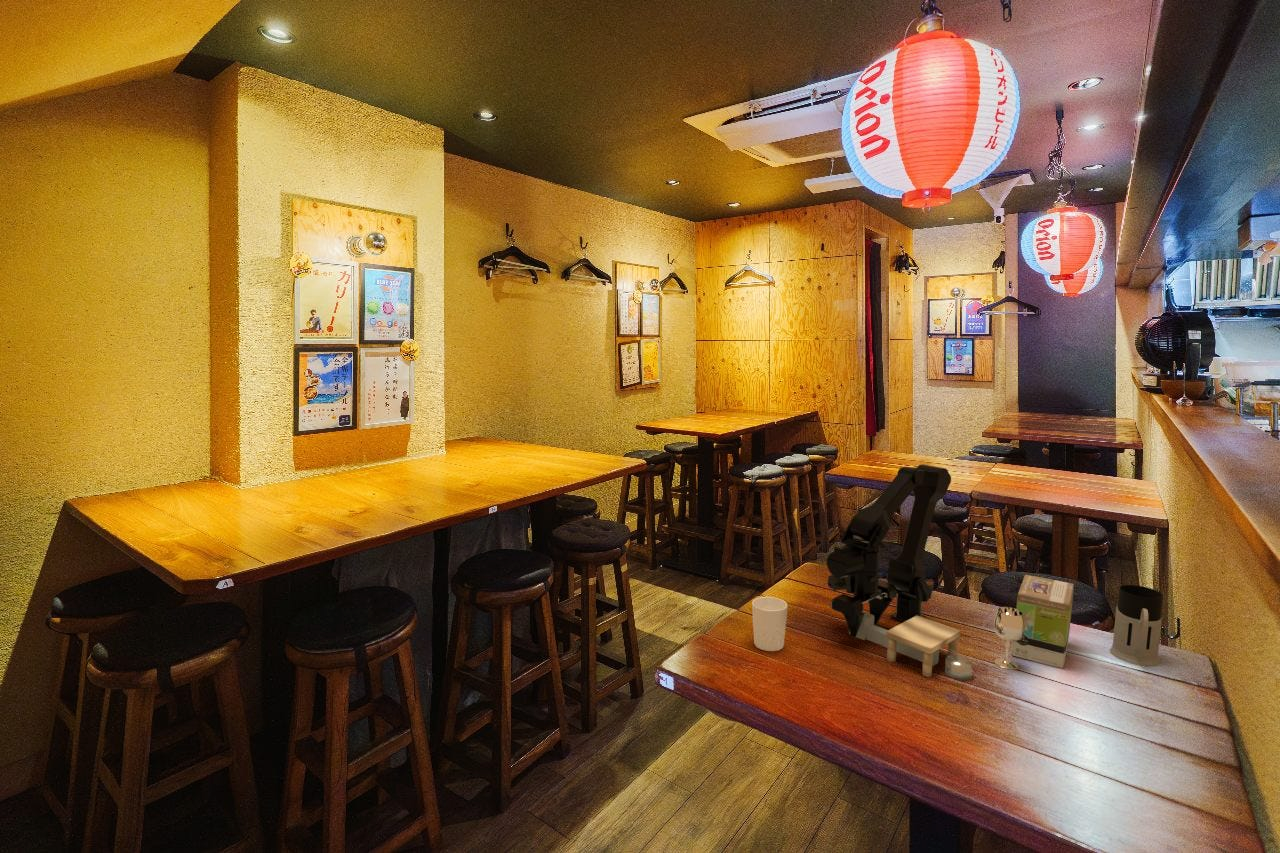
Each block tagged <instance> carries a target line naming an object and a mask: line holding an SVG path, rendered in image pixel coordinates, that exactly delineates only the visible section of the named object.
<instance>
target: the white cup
mask: <svg viewBox="0 0 1280 853" xmlns="http://www.w3.org/2000/svg"><path fill="white" fill-rule="evenodd" d="M751 605H752V606H751V607H752V608H751V609H752V625H753V626H752V628H753V629H752V630H753V644H754V645H755V647H756V648H757V649H759V650H762V651H766V652H777V651H781V650H782V649H783V648H784V645H785V635H786V629H787V628H786V627H787V617H788V603H787V602H786V601H785V600H783V599H781V598H777V597H773V596H762V597H760V596H759V597H757V598H755V599H753V600H752V603H751Z"/></svg>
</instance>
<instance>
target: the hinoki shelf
mask: <svg viewBox="0 0 1280 853" xmlns="http://www.w3.org/2000/svg"><path fill="white" fill-rule="evenodd" d="M887 630H888V629H887ZM961 631H962V630H960V629H957V628H954V627H952V626H948V625H945V624H943V623H940V622H937V621H935V620H931V619H930V618H929V619H928V618H927V619H926V618H923V617H920V616H915V617H913V618H911V619H909V620H907V621H905V622H902V623H900V624H897V625H895V626H893V627H892V628H889V630H888V631H886V637H888V648H887V651H886V652H887V653H886V654H887V655H886V659H887V661H888V662H891V663H894V662H897V652H896V648H897V641H898V642H901V643H903V644H906V645H908V646H911V647H913V648H916V649H918V650H921V651H923V662H922V671H921V672H922V673H921V675H922V676H924V677H926V678H931V677H932V675H933V666H932V660H933V652H935V651H937V650H940V649H941V648H944V647H945V646H947V645H948V646H947V656H949V655H958V647H959V646H958V644H959V638H960V637H961V635H962V634H961V633H962V632H961Z"/></svg>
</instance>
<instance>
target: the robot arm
mask: <svg viewBox="0 0 1280 853" xmlns="http://www.w3.org/2000/svg"><path fill="white" fill-rule="evenodd" d="M951 483H952V475H951V474H950V472H949V470H948V469H947V468H946V467H941V466H935V465H928V464H922V463H921V464H919V465H918V466H917V467H914V466H912V467H911V466H902V467H900V468H899V469H898V470H897V474H896V476H895V477H894V478H893V479H892V480H891V482H889V484H888V486H887V487H886V488H884V491H883V492H882V493H881V494H880V495H879V497H877V498H876V500H875V501H874V502H873V503H872V504H870V505H868V506H865V507H864V508H861V509H860V510H859V511H858V512H856V514H854V515H853V517H852V518H851V519H850V521H849V523H848V524H847V525H848V526H847V527H846V529H845V532H844V534H843V535H842V537H841V539H840V541H839V542H840V544H842V545H835V546H834V547H833V549H834V550H833V552H830V553H829V554H828V556H827V558H826V566H827V569H828V571H829V573H830V574H829V575H828V576H827V577H828V578H827V583H826V584H827V586H828V588H829V589H831V590H832V591H834V592H836V591H842V590H843V591H844V590H845V593H848V594H853V596H851V595H847V594H845V593H842V594H840V595H838V596H835V597H834V598H832V599H831V601H830V602H831V603H830V608H831V610H833V611H836V612H838V613H841V614H842V615H843V616H844V619H845V621H846V624H847V627H848V632H849V631H850V634H851V635H850V634H849V635H850V636H851V637H853V638H857V637H856V635H857V633H858V630H859V628H860V625H861V622H862V619H863V617H864V614H865V613H863V612H862V611H864V604H865V603H867V602H868V606H869V607H868V609H869V614H872V615H874V625H875V626H877V625H878V623H879V621H880V620H881V619H882V617H883V615H884V613H885V612H886V610H887V609H888V607H889V606H890V605H891V603H892V601H893V599H895V598H896V597H897V598H896V611H895V612H894V613H892V614H890V618H891V619H893V620H896V621H899V622H902V623H903V622H905V621H907V620H909V619H911V618H913V617H915V616H920V617H923V618H926V619H928V617H927V616H926V615H922V608H923V607H922V606H923V603H927V602H929V600H930V599H931V597H932V595H933V594H932V593H933V589H932V588H931V587H930V585H929V584H928V583H927V582H926V576H927V571H926V567H925V565H924V562H923V557H924V554H925V550H926V545H927V542H928V538H929V534H930V529H931V525H932V522H933V517H934V514H935V510H936V506H937V504H938V502H939V501H940V500H942V499H943V498H944V497H945V496H946V494H947V492H948V488H949V486H950V485H951ZM912 492H913V496H914V499H913V500H914V501H913V505H912V508H911V512H910V517H909V521H908V524H907V528H906V533H905V536H904V540H903V544H902V548H901V552H900V554H899V555H898V556H897V557H896V558H891V559H890V560H889V563H888V564H889V565H888V569H887V570H886V581H884V580H881V579H883V573H882V572H879V570H880V551H881V550H882V549H886V547H887V546H886V544H885V543H883V542H882V541H883V540H884V538H885V536H886V535H887V533H888V532H889V531H890V529H891V528H890V527H891V522H890V521H891V519H892V517H893V516H894V515H895V513H896V512H897V511H898V510H899V509H900V507H901V505H903V504H904V503H905V501H906V499H907V498H908V497H909V496H910V495H911V494H912ZM853 537H854V538H853ZM861 540H862V541H861Z"/></svg>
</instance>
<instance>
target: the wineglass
mask: <svg viewBox="0 0 1280 853" xmlns="http://www.w3.org/2000/svg"><path fill="white" fill-rule="evenodd" d="M993 630H994V633H995V634H996V635H997V636H998V637H999V638H1001V639H1003V640H1005V642H1004V646H1005V658H996V659H995V660H994V664H995V665H996V666H998V667H1000V668H1002V669H1006V670H1017V669H1018V668H1019V665H1018V663H1016V662H1015V661H1013V660H1011V659H1009V652H1010V651H1009V650H1010V648H1011V642H1013V641H1017V640H1019V639H1021V638H1022V637H1023V635H1024V632H1025V622H1024V616H1023V613H1022V612H1021V611H1020V610H1017V609H1016V607H1015V608H1013V607H1010V606H1000V607H998V608H997V610H996V613H995V615H994V619H993Z"/></svg>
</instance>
